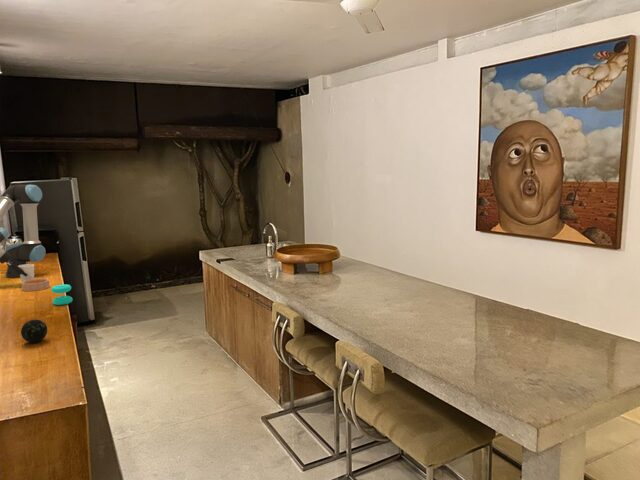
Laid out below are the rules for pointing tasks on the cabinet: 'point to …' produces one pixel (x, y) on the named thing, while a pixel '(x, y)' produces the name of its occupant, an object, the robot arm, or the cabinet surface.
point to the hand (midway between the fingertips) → (32, 277)
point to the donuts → (62, 299)
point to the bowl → (35, 284)
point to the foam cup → (29, 269)
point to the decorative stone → (34, 331)
